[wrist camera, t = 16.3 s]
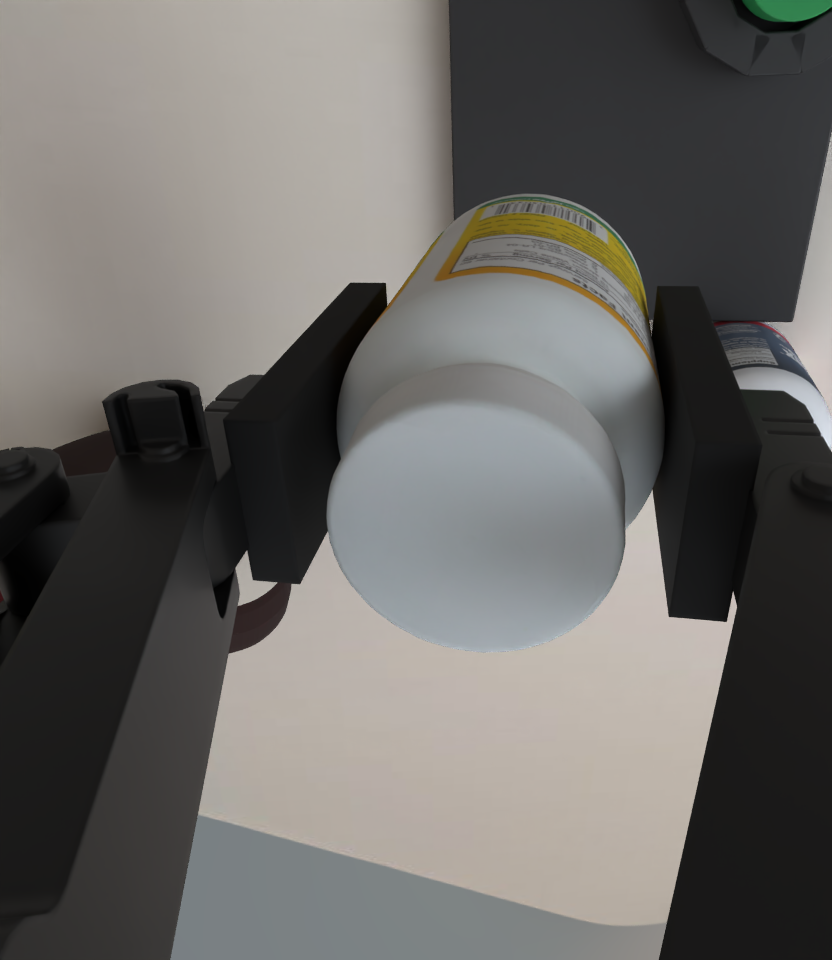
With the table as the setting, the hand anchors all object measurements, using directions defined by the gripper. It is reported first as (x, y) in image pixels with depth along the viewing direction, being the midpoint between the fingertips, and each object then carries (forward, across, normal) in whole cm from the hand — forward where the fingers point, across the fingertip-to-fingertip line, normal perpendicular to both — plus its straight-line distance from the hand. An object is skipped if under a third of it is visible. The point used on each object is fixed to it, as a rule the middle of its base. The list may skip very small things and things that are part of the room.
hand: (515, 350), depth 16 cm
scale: (+17, +3, +2) cm, 17 cm away
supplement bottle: (+3, 0, 0) cm, 3 cm away
